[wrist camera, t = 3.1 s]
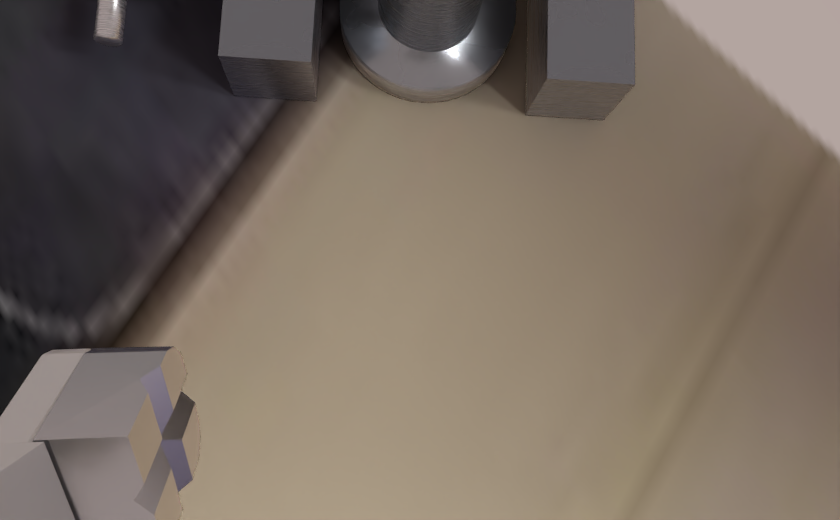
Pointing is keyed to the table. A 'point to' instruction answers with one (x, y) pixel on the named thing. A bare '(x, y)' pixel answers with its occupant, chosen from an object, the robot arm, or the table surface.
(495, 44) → the grey tall rounded piece
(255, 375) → the table surface
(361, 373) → the table surface
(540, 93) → the vise
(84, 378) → the robot arm
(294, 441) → the table surface
